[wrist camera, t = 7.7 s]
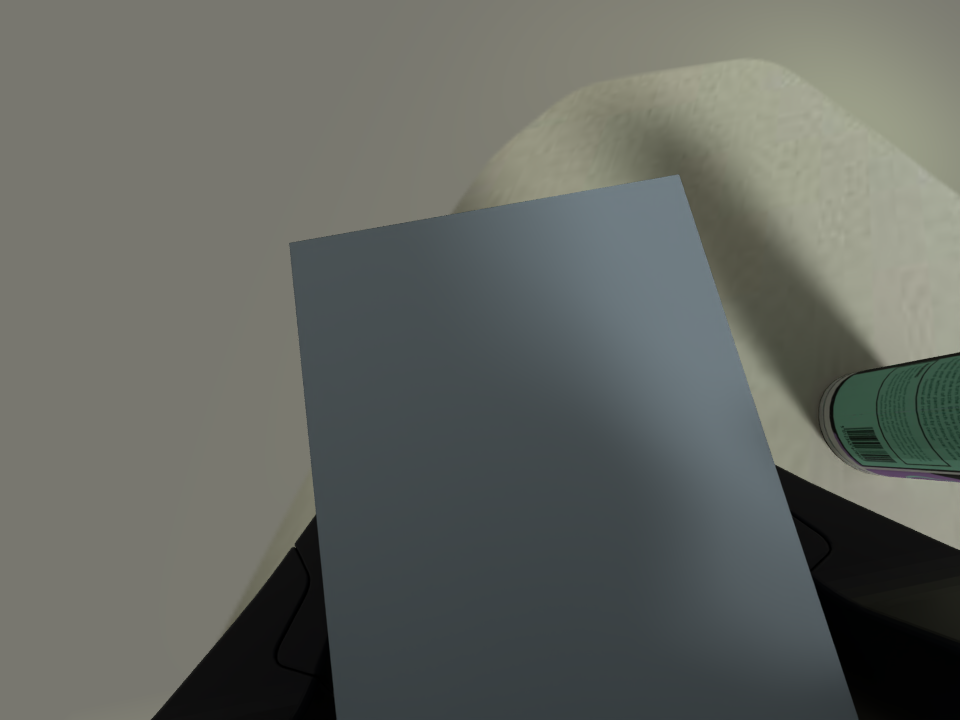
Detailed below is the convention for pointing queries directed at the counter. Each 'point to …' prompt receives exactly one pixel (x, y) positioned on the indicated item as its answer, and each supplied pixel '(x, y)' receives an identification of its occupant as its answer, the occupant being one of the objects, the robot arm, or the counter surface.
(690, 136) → the counter surface
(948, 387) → the spray can
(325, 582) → the blue-grey rectangular block
